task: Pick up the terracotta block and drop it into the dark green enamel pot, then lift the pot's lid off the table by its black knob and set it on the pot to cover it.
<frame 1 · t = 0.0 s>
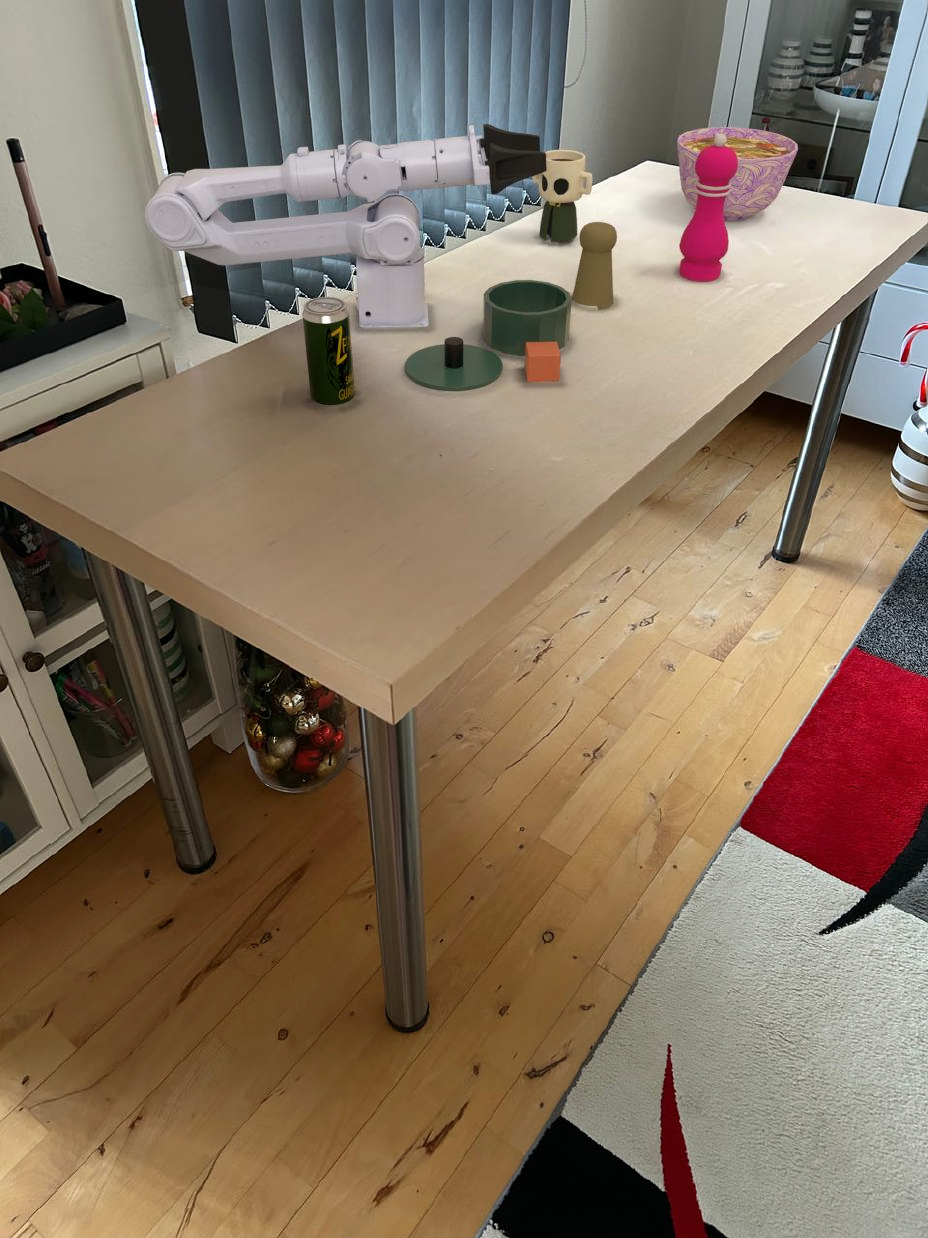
hand: (542, 152, 128), 22 cm above the table, tool horizontal, fingers open, 7 cm apart
character mug: (557, 240, 166), on the table
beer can: (333, 401, 123), on the table
block: (541, 378, 127), on the table
lid: (453, 368, 128), point 1 cm above the table
bowl of food: (725, 214, 176), on the table
pot: (525, 340, 136), on the table
pepper mill: (699, 275, 155), on the table
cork: (592, 302, 146), on the table
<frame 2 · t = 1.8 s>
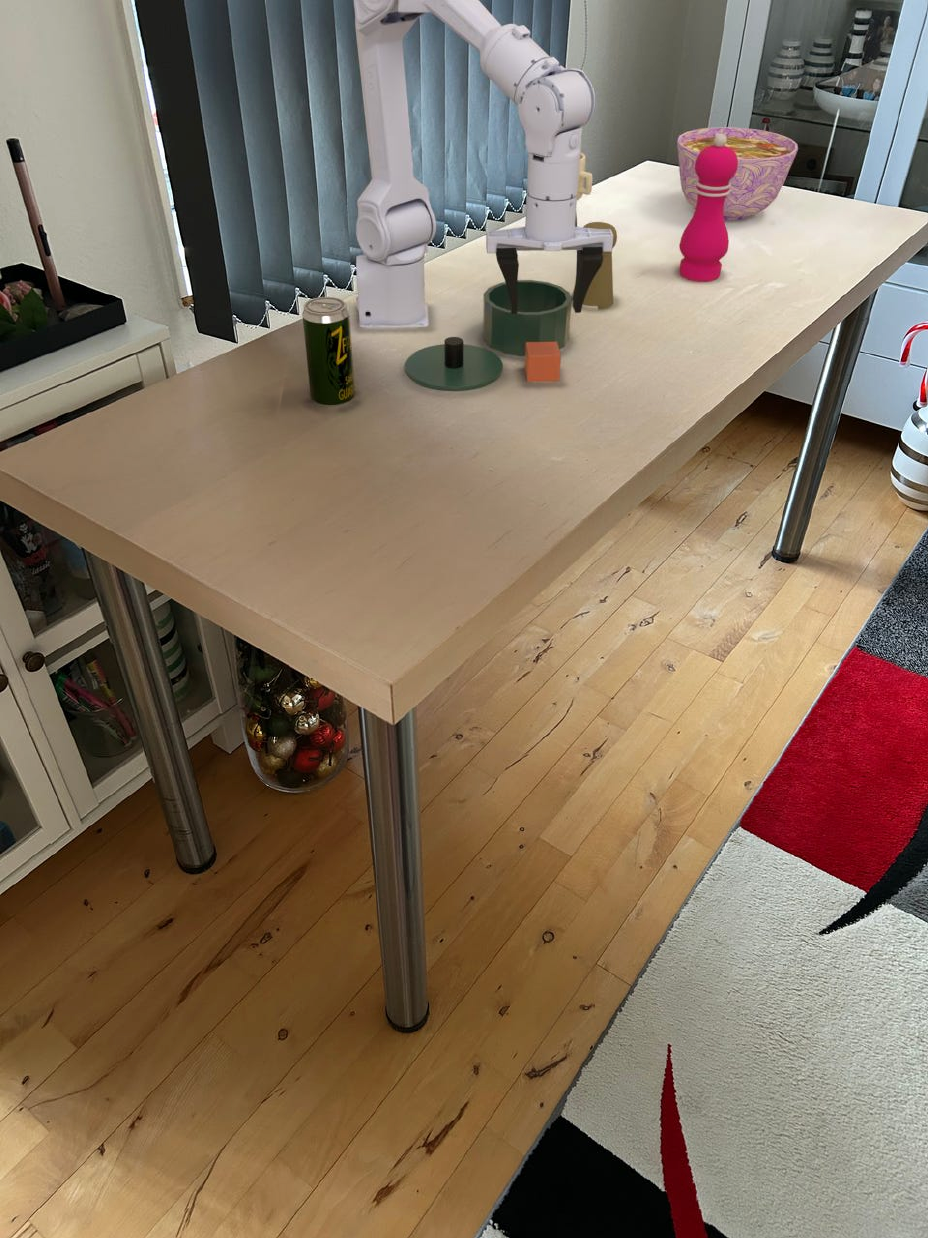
hand: (545, 309, 122), 9 cm above the table, tool pointing down, fingers open, 7 cm apart
nothing on the table moved.
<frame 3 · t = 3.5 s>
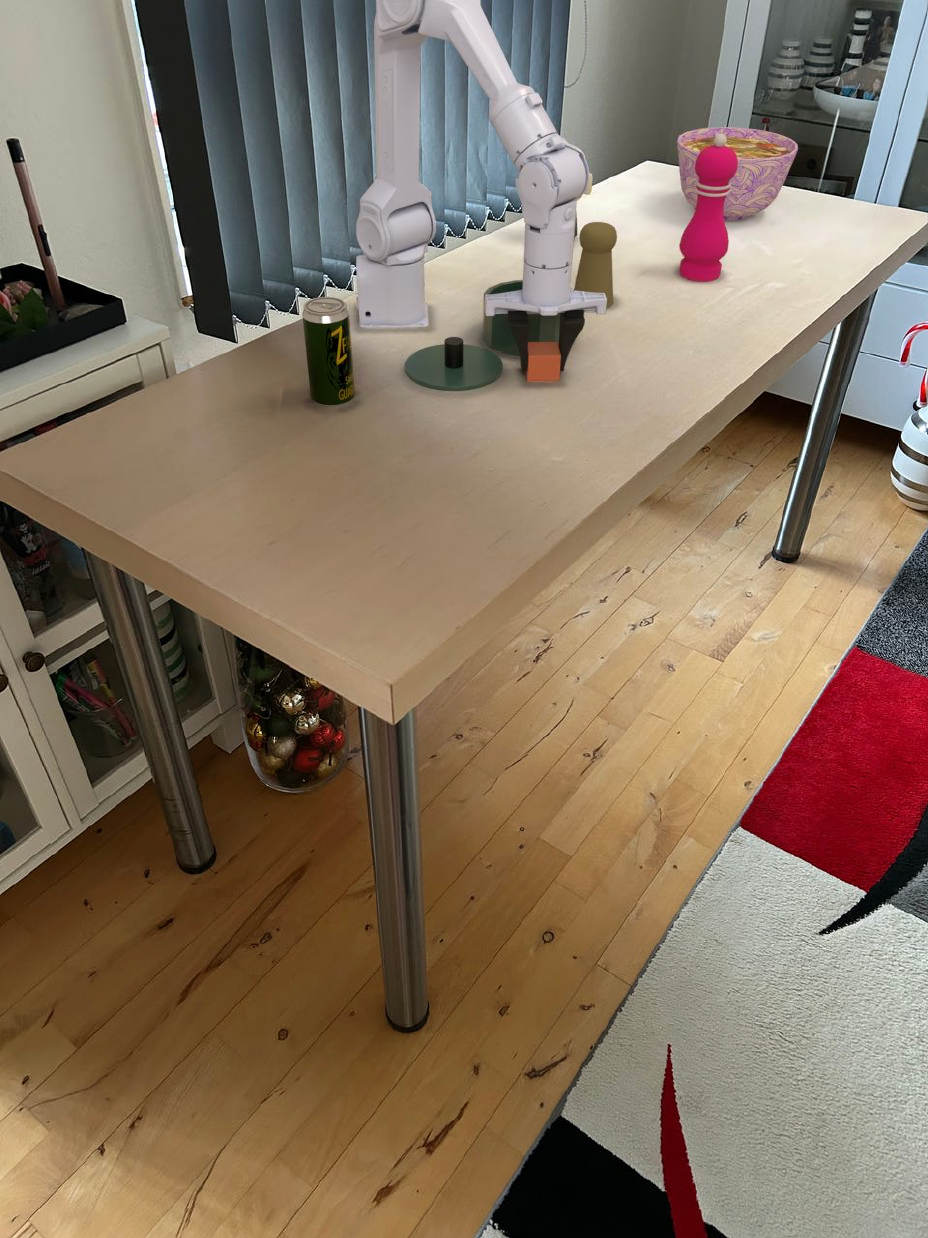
hand: (541, 367, 126), 1 cm above the table, tool pointing down, fingers closed on block, 4 cm apart
block: (541, 378, 127), on the table, touching gripper
everything else where it was.
when the fingers open (3 cm above the table, at t = 8.1 s): block drops 1 cm, resting on pot.
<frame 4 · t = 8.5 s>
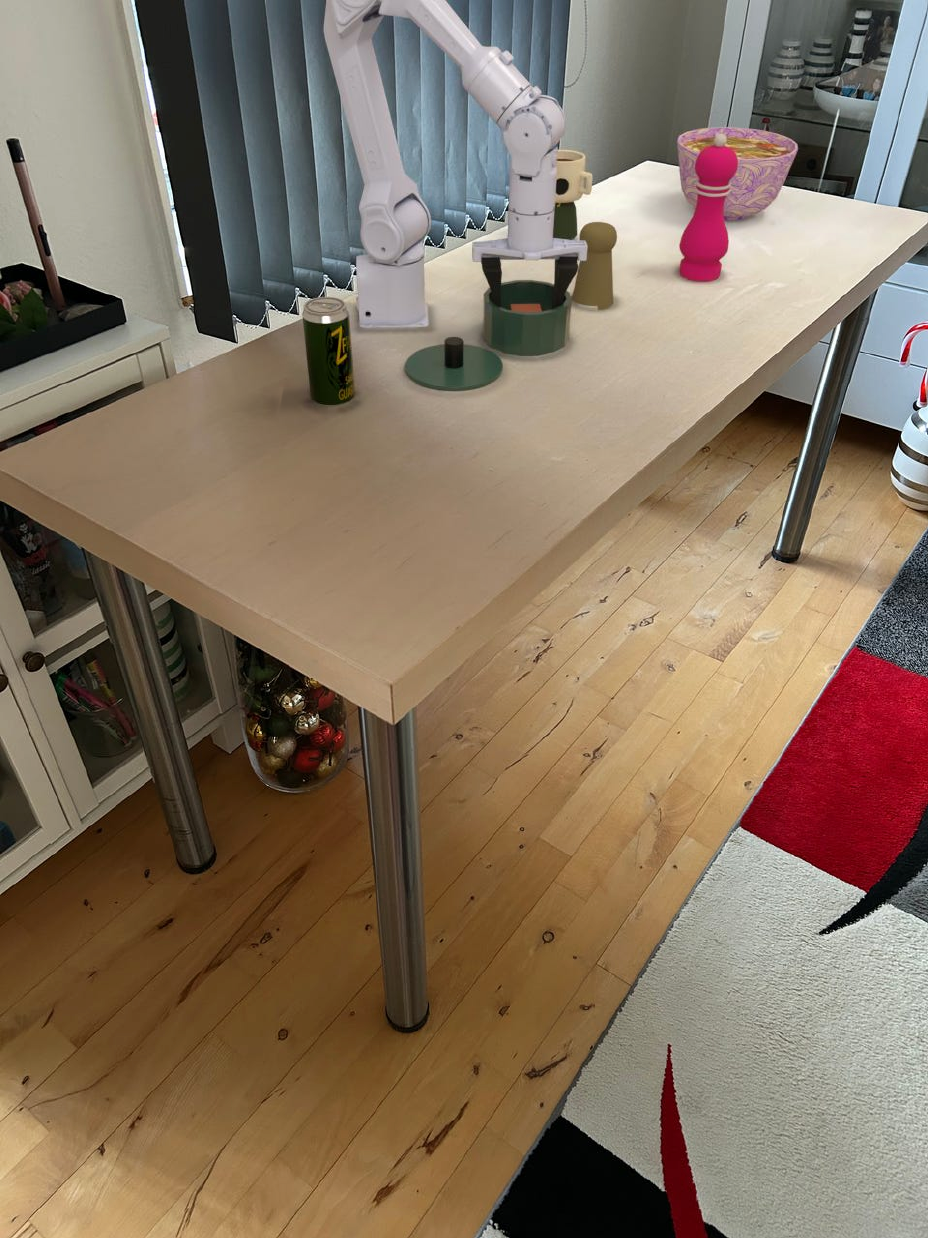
hand: (526, 313, 133), 4 cm above the table, tool pointing down, fingers open, 7 cm apart
block: (525, 338, 135), resting on pot
everything else where it was.
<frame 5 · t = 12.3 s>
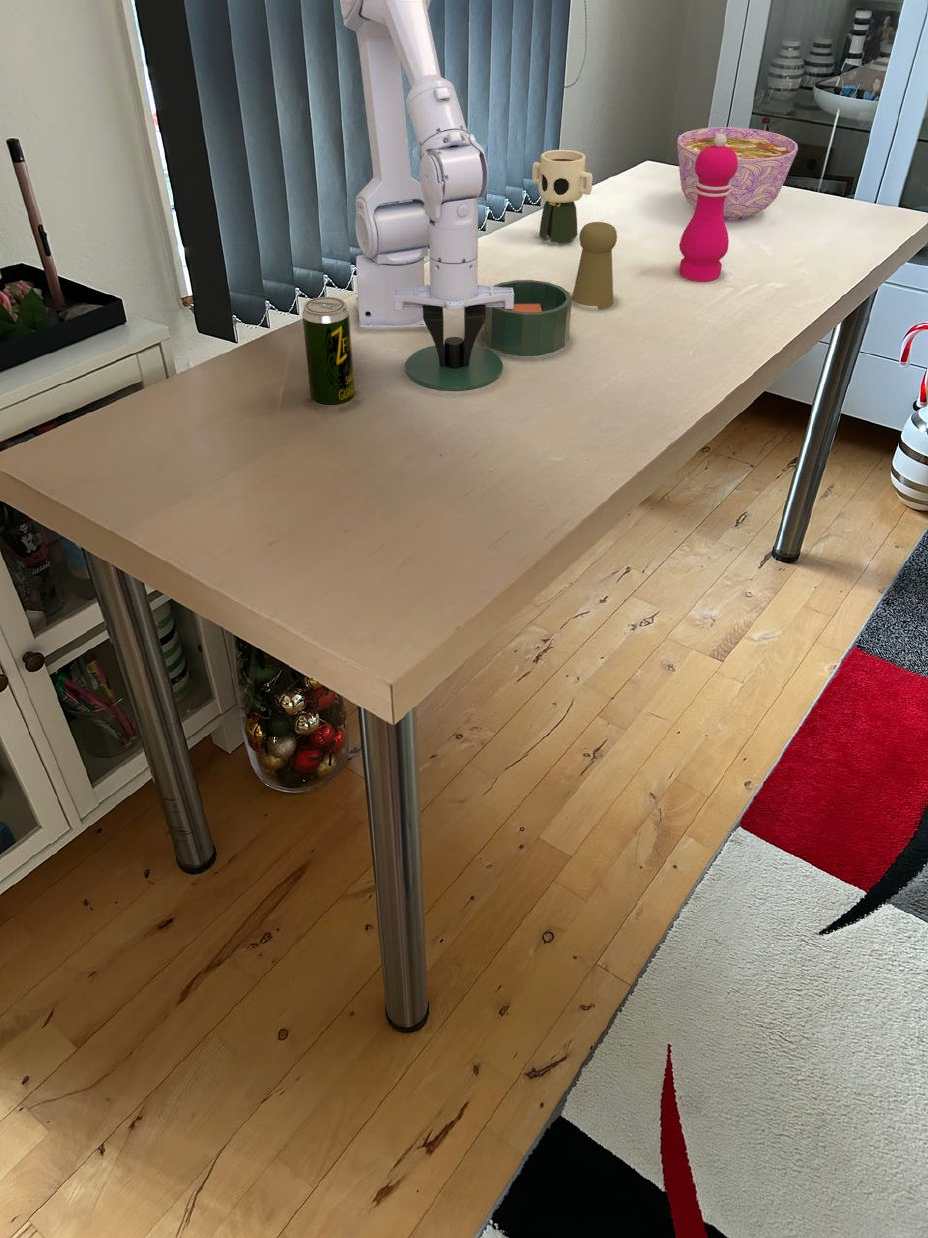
hand: (453, 362, 128), 1 cm above the table, tool pointing down, fingers closed on lid, 2 cm apart
lid: (454, 368, 128), point 1 cm above the table, touching gripper
everything else where it was.
when the fingers open (7 cm above the table, at t = 16.0 s): lid stays where it is, resting on pot.
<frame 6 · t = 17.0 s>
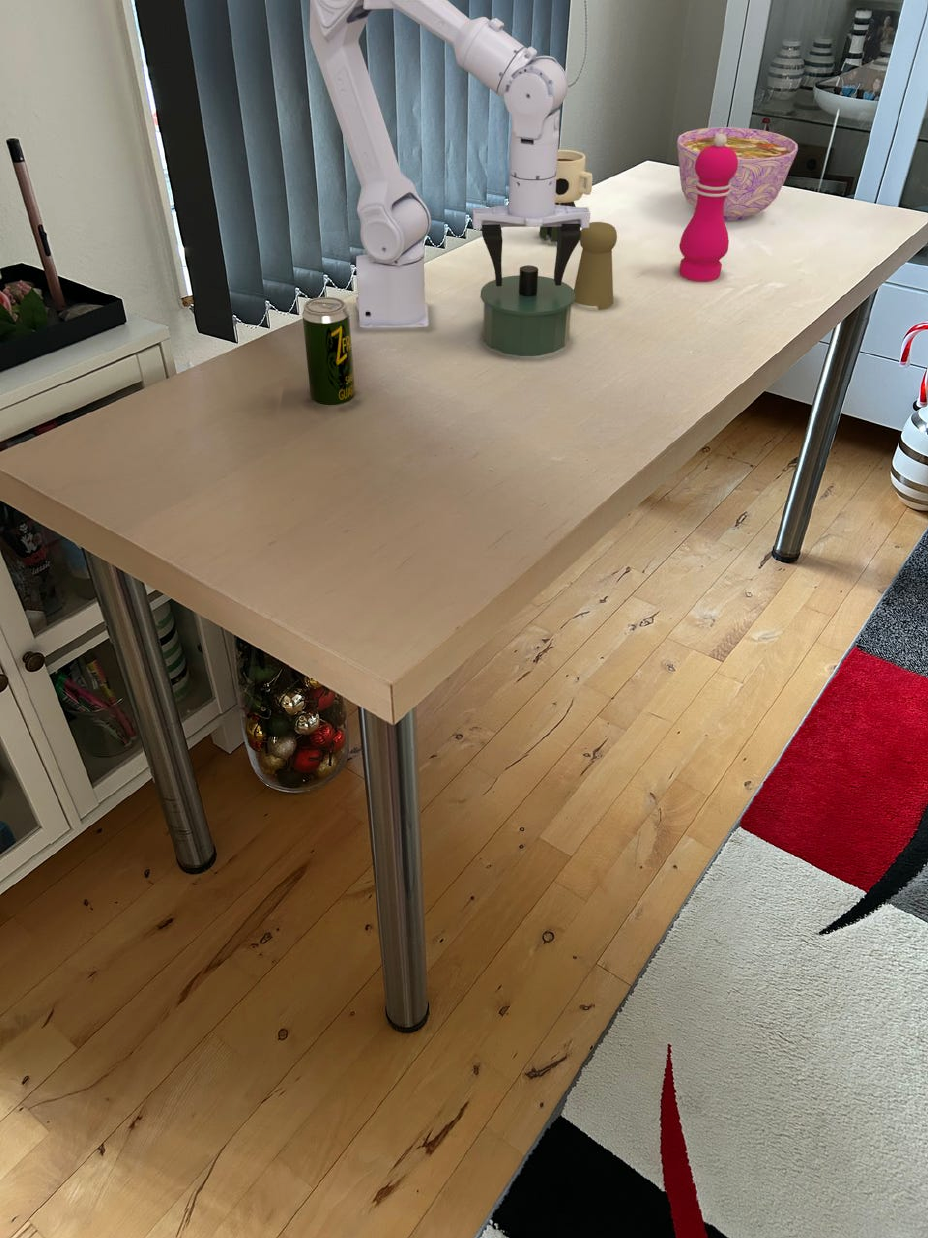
hand: (527, 282, 131), 8 cm above the table, tool pointing down, fingers open, 7 cm apart
lid: (527, 296, 132), point 6 cm above the table, touching pot
everything else where it was.
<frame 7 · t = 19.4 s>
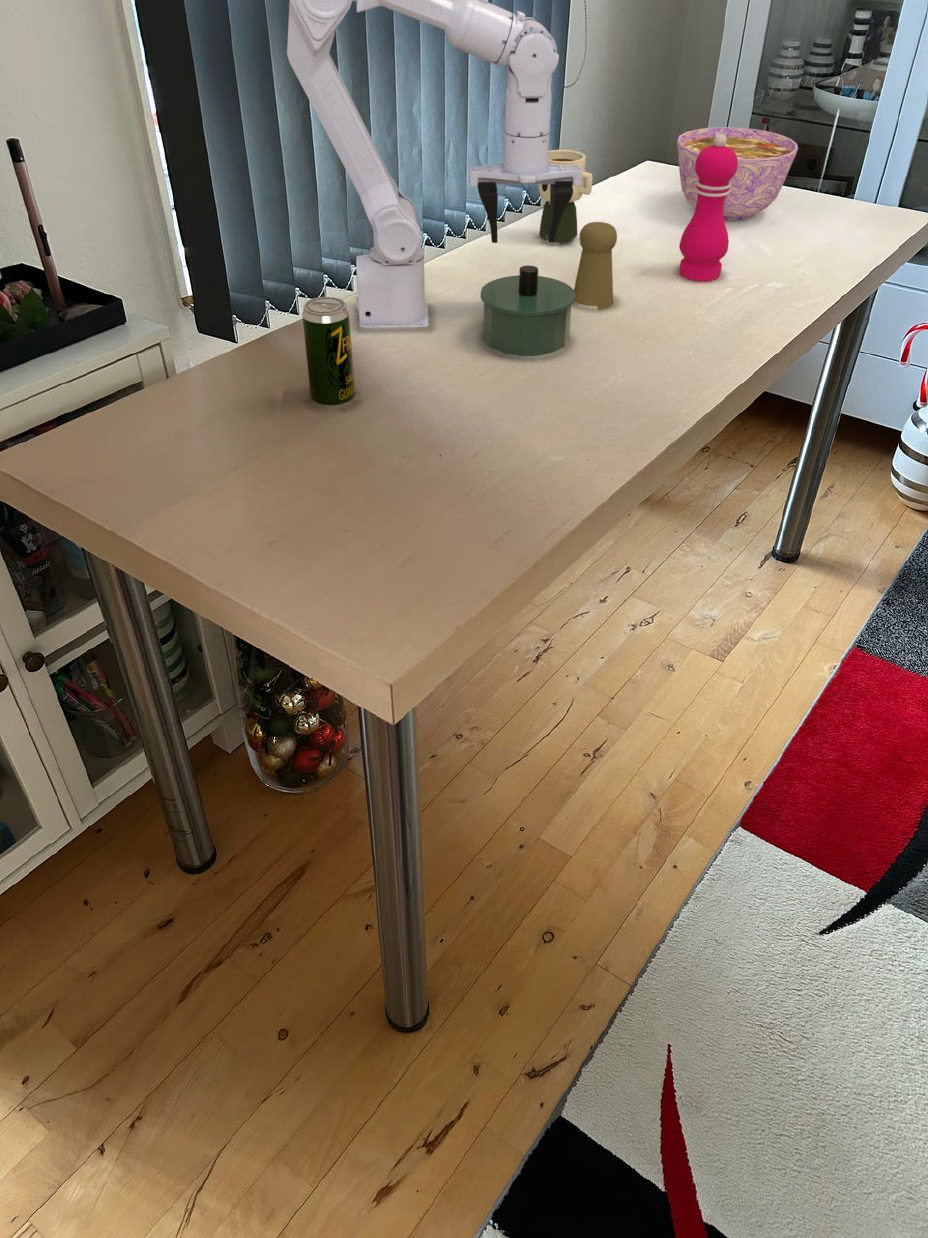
hand: (522, 239, 136), 10 cm above the table, tool pointing down, fingers open, 7 cm apart
nothing on the table moved.
at the end: block 0.0 cm off-centre in the pot, point 0.4 cm above the pot's base; lid 0.0 cm off-centre on the pot, point 6.2 cm above the pot's base; lid tilted 0° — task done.
